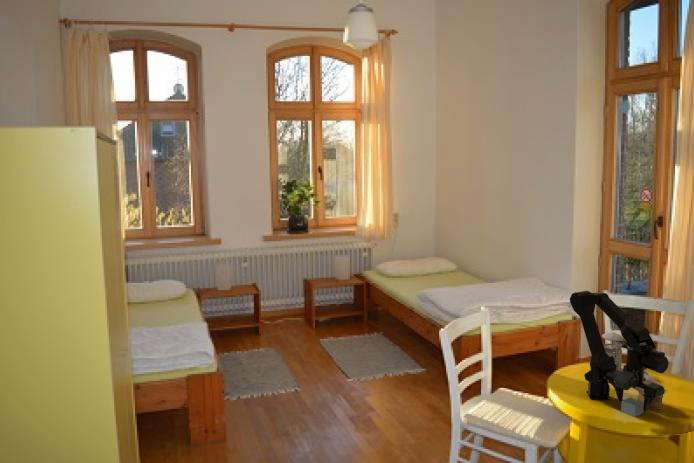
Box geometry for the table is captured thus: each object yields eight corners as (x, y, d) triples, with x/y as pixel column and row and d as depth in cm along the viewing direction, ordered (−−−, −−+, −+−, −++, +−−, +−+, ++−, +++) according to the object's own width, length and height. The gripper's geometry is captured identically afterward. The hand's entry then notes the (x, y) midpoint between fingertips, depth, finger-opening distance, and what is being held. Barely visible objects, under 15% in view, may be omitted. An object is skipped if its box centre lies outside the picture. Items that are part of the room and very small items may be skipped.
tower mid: (645, 398, 217) (646, 387, 217) (637, 391, 223) (638, 380, 223) (663, 398, 217) (663, 387, 217) (654, 390, 223) (655, 380, 223)
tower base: (643, 408, 218) (644, 397, 218) (637, 401, 224) (638, 390, 224) (661, 409, 218) (662, 398, 217) (655, 402, 224) (656, 391, 223)
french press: (617, 364, 259) (621, 306, 255) (630, 375, 247) (634, 314, 243) (593, 364, 259) (597, 306, 255) (605, 375, 247) (609, 314, 243)
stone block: (633, 395, 234) (660, 389, 233) (631, 382, 233) (658, 377, 233) (620, 383, 246) (645, 378, 245) (618, 371, 245) (643, 366, 245)
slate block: (621, 411, 216) (621, 400, 215) (629, 408, 219) (630, 397, 218) (634, 417, 212) (635, 405, 211) (643, 413, 214) (643, 402, 214)
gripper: (596, 359, 216) (594, 402, 218) (647, 377, 200) (644, 422, 203) (616, 353, 222) (613, 394, 224) (667, 370, 206) (663, 414, 209)
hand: (632, 406), depth 215 cm, fingers open, 9 cm apart
